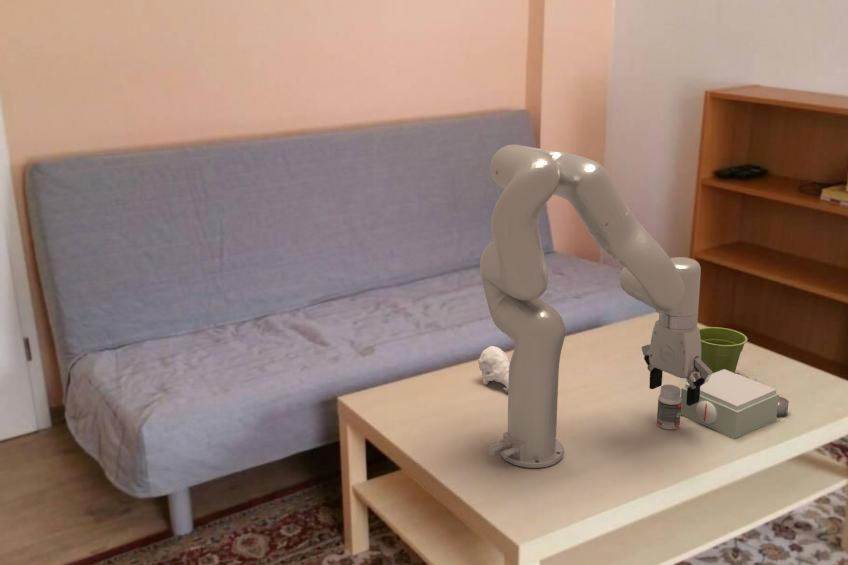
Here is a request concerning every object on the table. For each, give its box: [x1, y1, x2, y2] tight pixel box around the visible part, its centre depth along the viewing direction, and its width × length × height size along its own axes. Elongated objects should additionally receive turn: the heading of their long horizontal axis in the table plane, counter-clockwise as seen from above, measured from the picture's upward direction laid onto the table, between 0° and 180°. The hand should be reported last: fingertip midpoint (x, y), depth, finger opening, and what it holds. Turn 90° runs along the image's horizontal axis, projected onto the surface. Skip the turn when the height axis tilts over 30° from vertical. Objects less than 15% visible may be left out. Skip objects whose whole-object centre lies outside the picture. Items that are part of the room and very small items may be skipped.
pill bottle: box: [655, 384, 682, 430], centre depth 184 cm, size 5×5×8 cm
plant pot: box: [699, 326, 749, 376], centre depth 204 cm, size 12×12×11 cm
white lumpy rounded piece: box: [477, 345, 510, 393], centre depth 203 cm, size 6×8×12 cm
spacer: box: [776, 396, 790, 419], centre depth 190 cm, size 4×4×3 cm
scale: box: [680, 369, 780, 439], centre depth 188 cm, size 15×14×7 cm
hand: (673, 395), depth 184 cm, fingers open, 9 cm apart
